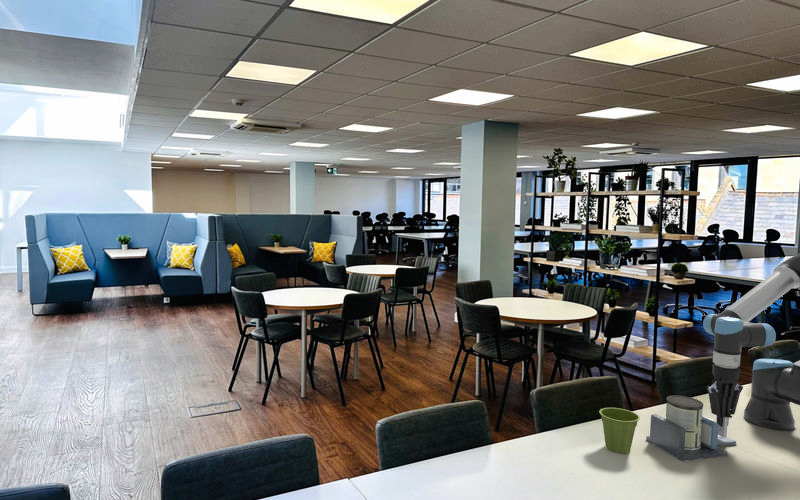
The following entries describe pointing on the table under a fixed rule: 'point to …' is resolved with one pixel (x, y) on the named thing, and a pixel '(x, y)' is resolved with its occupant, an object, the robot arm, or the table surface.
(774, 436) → the table surface
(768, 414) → the robot arm
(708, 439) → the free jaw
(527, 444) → the table surface
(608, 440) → the plant pot
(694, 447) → the coffee can
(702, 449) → the vise base
